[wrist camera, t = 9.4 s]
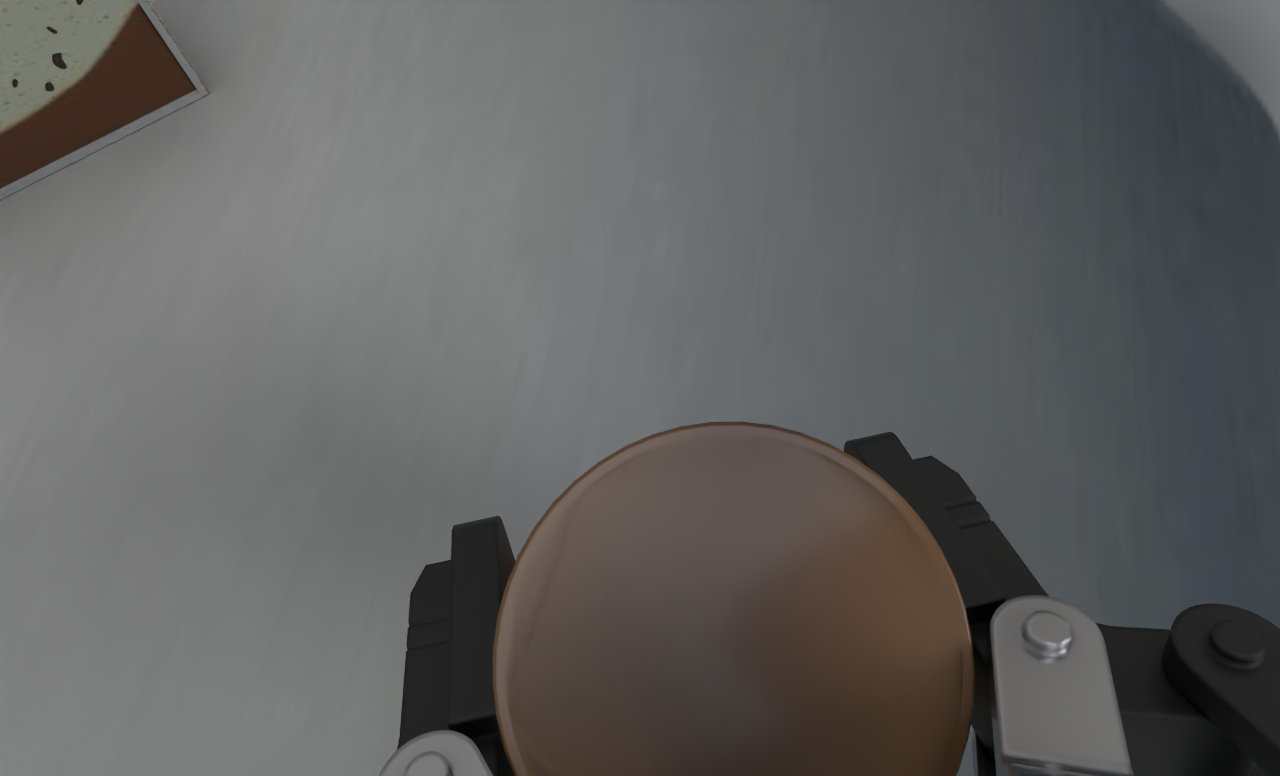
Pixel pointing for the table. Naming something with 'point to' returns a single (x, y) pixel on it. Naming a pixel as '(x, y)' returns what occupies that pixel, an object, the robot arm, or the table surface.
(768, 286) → the table surface
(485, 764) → the robot arm
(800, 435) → the brown lidded canister
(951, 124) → the table surface
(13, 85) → the food container
